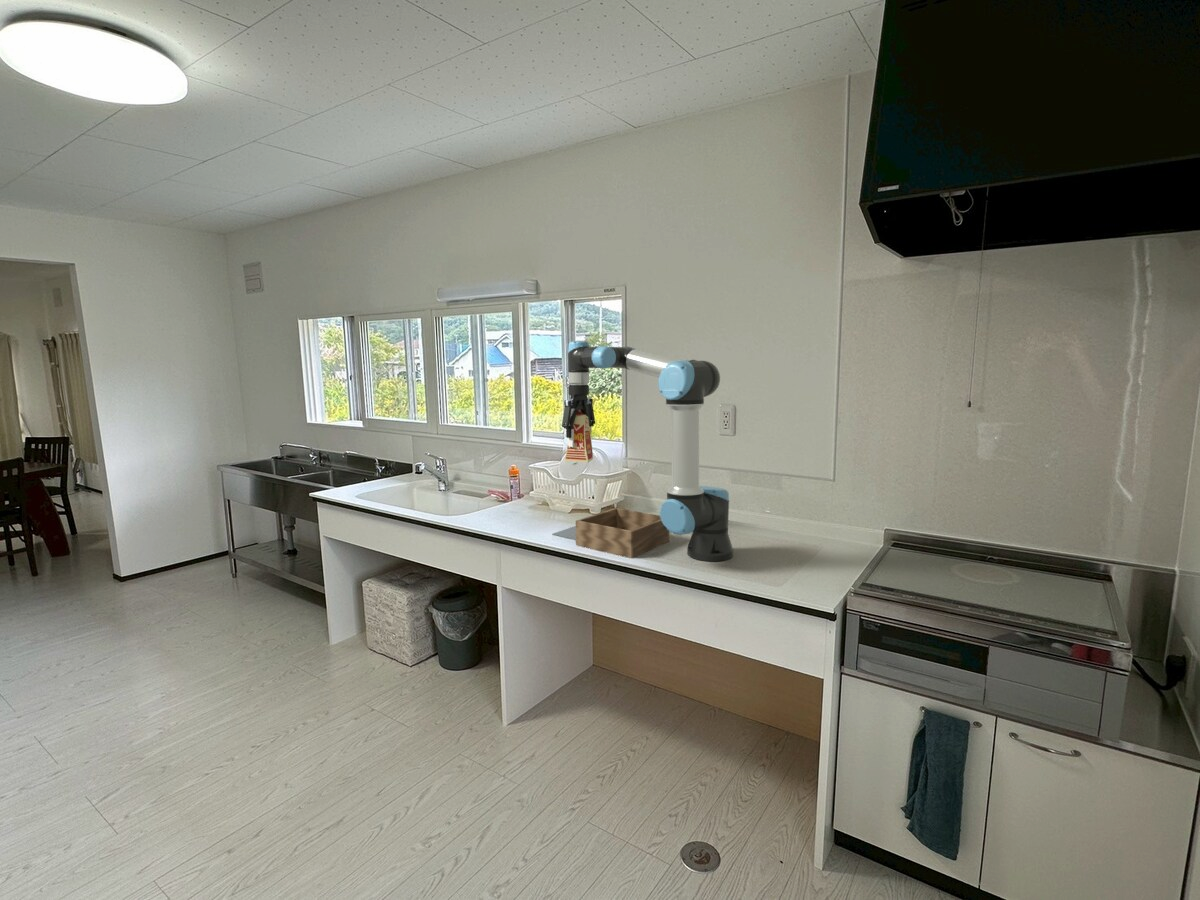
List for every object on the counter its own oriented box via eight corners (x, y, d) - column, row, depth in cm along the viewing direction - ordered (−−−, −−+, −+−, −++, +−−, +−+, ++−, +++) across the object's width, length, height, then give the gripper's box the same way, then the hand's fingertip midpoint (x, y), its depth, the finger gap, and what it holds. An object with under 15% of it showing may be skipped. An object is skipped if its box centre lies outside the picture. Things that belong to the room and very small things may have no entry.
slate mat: (604, 532, 233) (604, 531, 233) (580, 541, 223) (580, 540, 223) (576, 526, 242) (576, 525, 242) (552, 534, 231) (552, 533, 231)
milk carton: (588, 462, 222) (588, 407, 219) (563, 461, 224) (563, 407, 221) (593, 458, 231) (594, 405, 228) (570, 457, 233) (570, 405, 230)
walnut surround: (669, 541, 222) (669, 517, 220) (631, 558, 203) (631, 531, 202) (616, 530, 236) (616, 507, 235) (575, 545, 217) (575, 520, 216)
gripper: (589, 382, 234) (589, 441, 238) (550, 384, 217) (551, 447, 221) (605, 383, 230) (604, 442, 233) (566, 385, 213) (567, 449, 216)
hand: (579, 445), depth 227 cm, fingers closed on milk carton, 9 cm apart
